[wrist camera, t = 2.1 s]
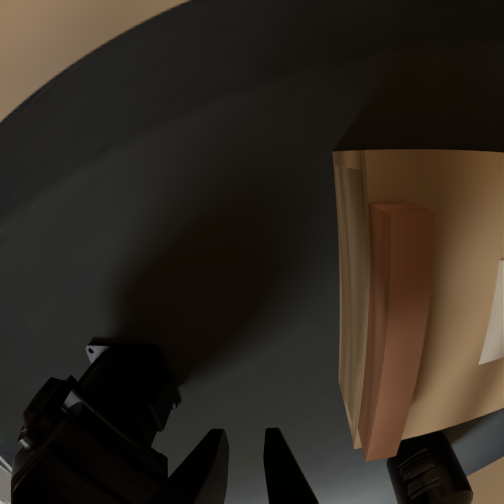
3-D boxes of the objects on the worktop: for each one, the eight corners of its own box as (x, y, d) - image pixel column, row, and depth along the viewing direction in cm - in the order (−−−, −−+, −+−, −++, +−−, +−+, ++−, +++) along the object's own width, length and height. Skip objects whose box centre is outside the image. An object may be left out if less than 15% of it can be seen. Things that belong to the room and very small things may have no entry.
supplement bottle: (381, 474, 26) (401, 564, 15) (390, 437, 24) (422, 542, 13) (437, 459, 25) (468, 540, 14) (453, 420, 23) (497, 511, 12)
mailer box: (338, 379, 22) (352, 437, 16) (332, 151, 18) (359, 150, 12) (520, 338, 21) (555, 373, 15) (542, 156, 16) (594, 164, 10)
